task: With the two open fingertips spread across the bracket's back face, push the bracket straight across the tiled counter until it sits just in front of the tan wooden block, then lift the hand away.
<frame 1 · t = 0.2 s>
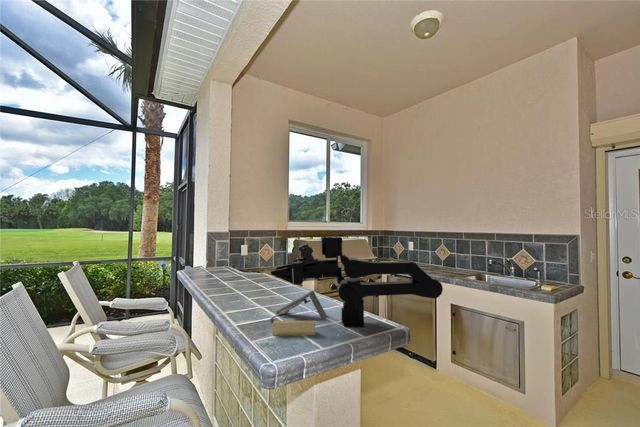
hand: (273, 270, 91), 17 cm above the countertop, tool horizontal, fingers open, 9 cm apart
tan wooden block: (294, 333, 81), on the countertop
bracket: (298, 320, 95), on the countertop
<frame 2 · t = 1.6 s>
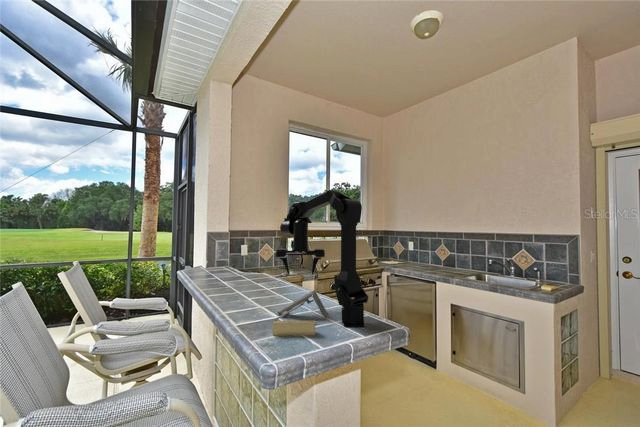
hand: (300, 275, 110), 12 cm above the countertop, tool pointing down, fingers open, 9 cm apart
bracket: (301, 320, 95), on the countertop
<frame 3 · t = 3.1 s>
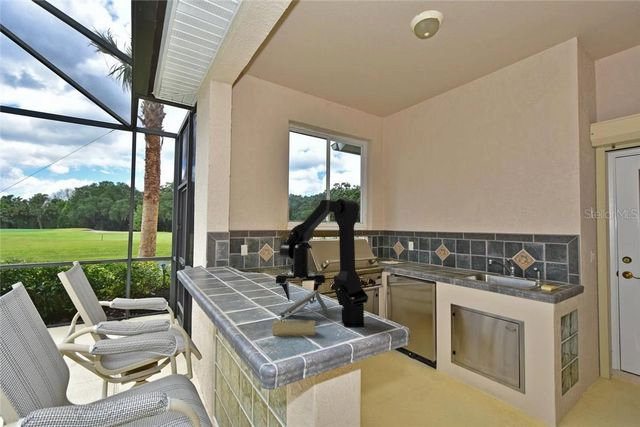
hand: (301, 300, 108), 2 cm above the countertop, tool pointing down, fingers open, 9 cm apart
bracket: (305, 320, 94), on the countertop
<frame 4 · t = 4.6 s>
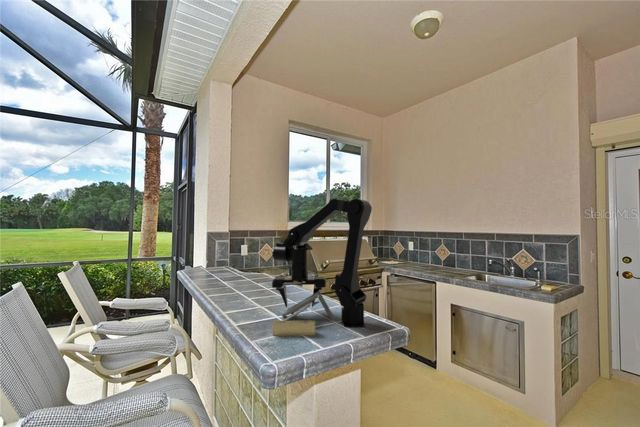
hand: (299, 306, 100), 2 cm above the countertop, tool pointing down, fingers open, 9 cm apart
bracket: (307, 322, 92), on the countertop, touching gripper
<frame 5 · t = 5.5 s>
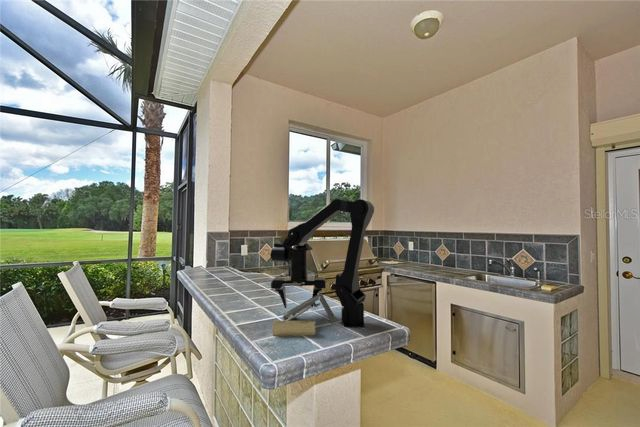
hand: (298, 307, 99), 2 cm above the countertop, tool pointing down, fingers open, 9 cm apart
bracket: (308, 324, 90), on the countertop
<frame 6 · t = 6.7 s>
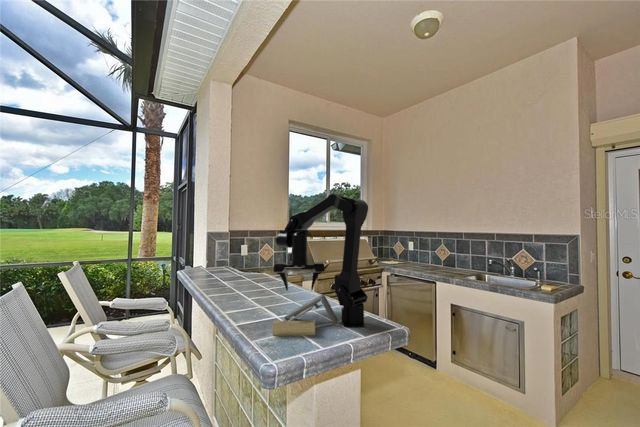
hand: (299, 290, 105), 7 cm above the countertop, tool pointing down, fingers open, 9 cm apart
bracket: (310, 326, 89), on the countertop
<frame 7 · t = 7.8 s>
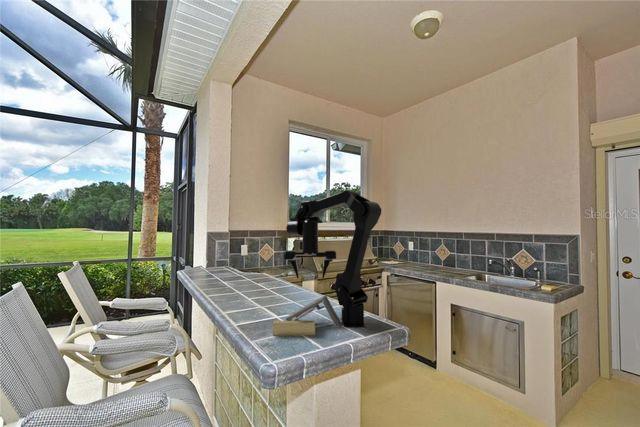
hand: (310, 278, 103), 12 cm above the countertop, tool pointing down, fingers open, 9 cm apart
bracket: (311, 328, 88), on the countertop
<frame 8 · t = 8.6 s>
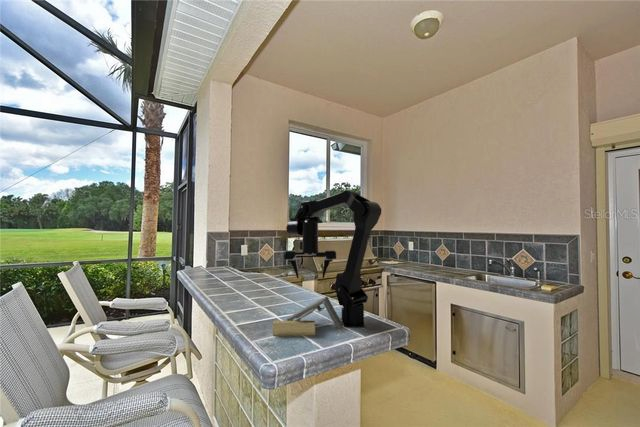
hand: (310, 278, 103), 12 cm above the countertop, tool pointing down, fingers open, 9 cm apart
bracket: (311, 329, 86), on the countertop
at the end: bracket inside the target area (6.2 cm from its centre), on the countertop; bracket tilted 2°; bracket moved 10.7 cm from its start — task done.
